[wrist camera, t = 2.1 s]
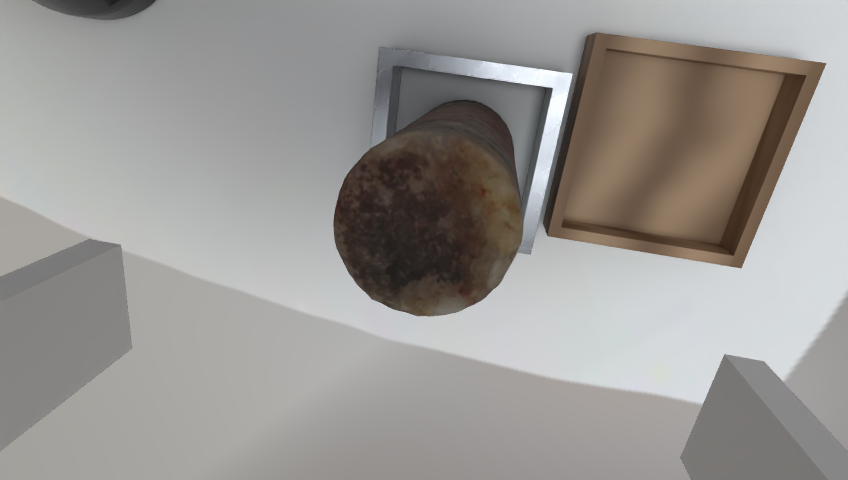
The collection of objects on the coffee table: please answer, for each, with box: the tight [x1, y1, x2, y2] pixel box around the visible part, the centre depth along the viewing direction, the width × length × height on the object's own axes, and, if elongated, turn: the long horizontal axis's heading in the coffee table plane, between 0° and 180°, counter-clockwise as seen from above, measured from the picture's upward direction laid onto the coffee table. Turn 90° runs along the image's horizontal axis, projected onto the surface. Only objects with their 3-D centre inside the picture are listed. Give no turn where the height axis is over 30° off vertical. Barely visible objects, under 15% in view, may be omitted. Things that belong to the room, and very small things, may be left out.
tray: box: [543, 33, 826, 268], centre depth 32 cm, size 14×14×3 cm
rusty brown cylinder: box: [334, 100, 523, 316], centre depth 26 cm, size 8×7×20 cm
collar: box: [370, 47, 573, 255], centre depth 34 cm, size 12×12×4 cm
